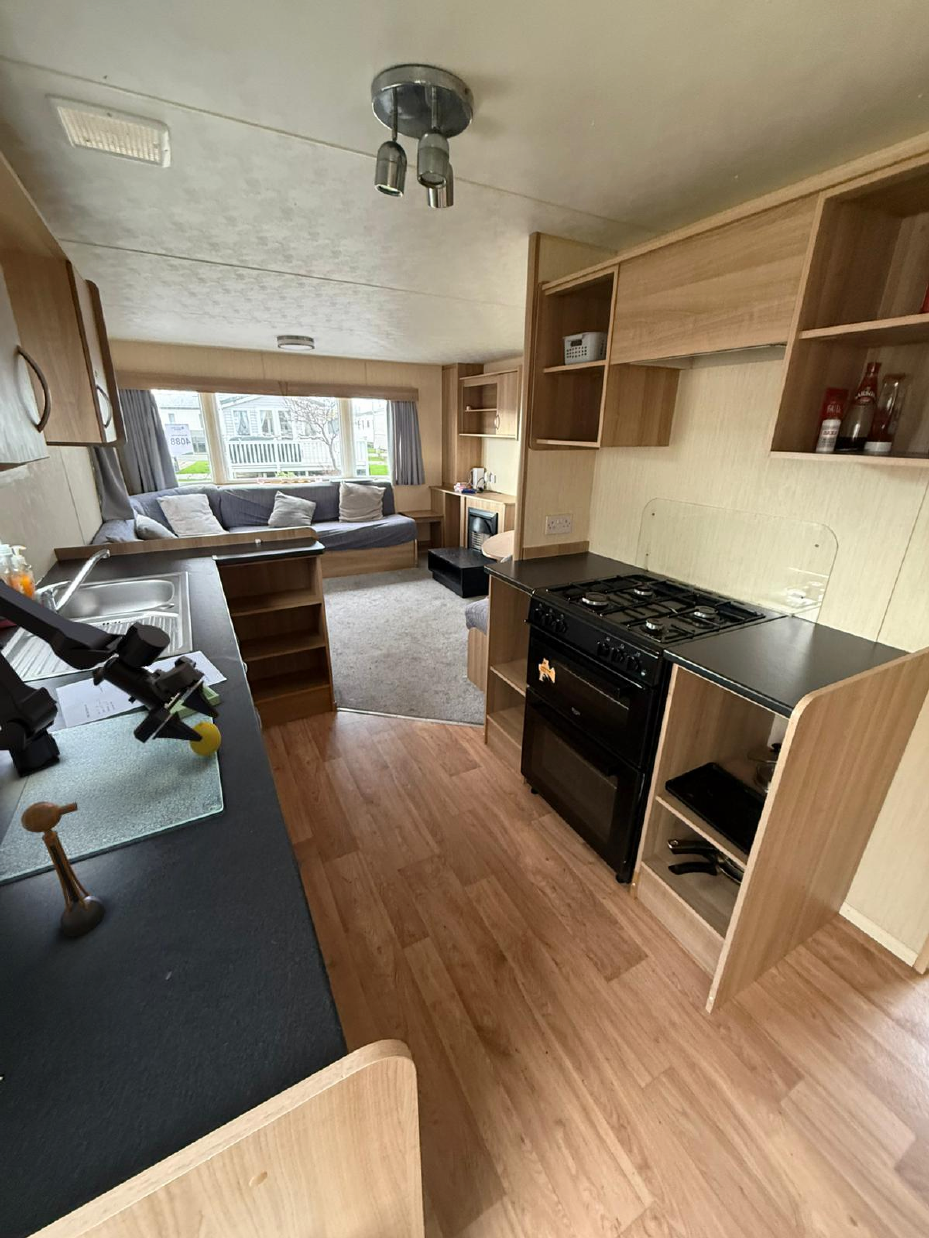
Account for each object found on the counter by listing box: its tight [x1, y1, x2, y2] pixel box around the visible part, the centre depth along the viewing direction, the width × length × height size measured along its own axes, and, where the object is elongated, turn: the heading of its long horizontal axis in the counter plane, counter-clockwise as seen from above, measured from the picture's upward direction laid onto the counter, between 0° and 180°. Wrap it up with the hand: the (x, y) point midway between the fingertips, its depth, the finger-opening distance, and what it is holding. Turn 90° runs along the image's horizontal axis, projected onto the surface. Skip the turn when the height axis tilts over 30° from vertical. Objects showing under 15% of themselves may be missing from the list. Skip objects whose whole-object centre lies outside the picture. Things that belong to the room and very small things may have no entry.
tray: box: [145, 680, 221, 719], centre depth 120 cm, size 13×13×2 cm
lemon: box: [189, 721, 222, 757], centre depth 100 cm, size 6×6×8 cm
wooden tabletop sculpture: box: [20, 801, 107, 937], centre depth 65 cm, size 6×5×20 cm
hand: (209, 727), depth 99 cm, fingers open, 8 cm apart
